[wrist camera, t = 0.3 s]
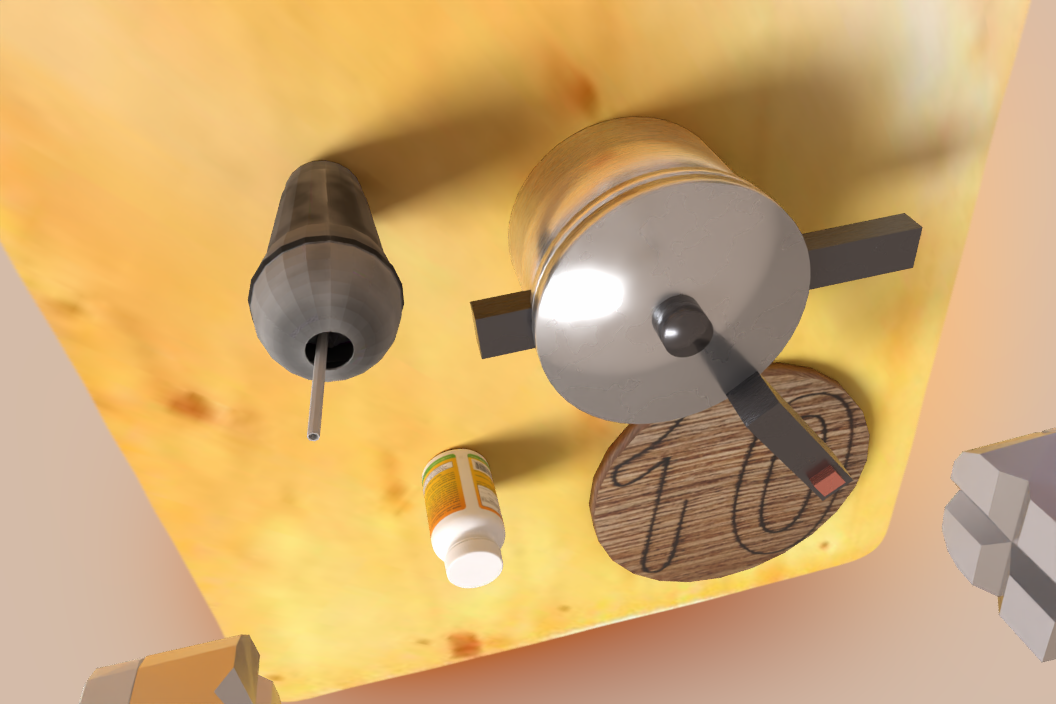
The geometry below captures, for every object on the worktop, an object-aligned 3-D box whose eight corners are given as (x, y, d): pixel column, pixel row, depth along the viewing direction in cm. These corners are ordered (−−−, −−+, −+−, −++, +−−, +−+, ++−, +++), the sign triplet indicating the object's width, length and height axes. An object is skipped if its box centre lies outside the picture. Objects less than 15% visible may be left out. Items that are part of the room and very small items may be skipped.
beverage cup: (411, 189, 49) (460, 402, 33) (335, 271, 51) (347, 506, 35) (311, 111, 45) (313, 312, 29) (233, 203, 47) (196, 436, 31)
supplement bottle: (417, 496, 65) (432, 597, 57) (425, 446, 61) (441, 546, 54) (483, 495, 66) (506, 593, 58) (494, 446, 63) (519, 543, 55)
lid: (709, 110, 40) (750, 149, 36) (906, 377, 54) (950, 424, 51) (472, 315, 44) (487, 370, 40) (715, 511, 59) (743, 564, 55)
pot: (435, 145, 47) (457, 216, 40) (859, 67, 50) (948, 121, 43) (473, 354, 57) (496, 441, 50) (825, 280, 60) (894, 352, 53)
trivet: (589, 589, 78) (594, 605, 76) (585, 391, 62) (592, 407, 61) (831, 535, 81) (841, 550, 79) (884, 335, 65) (897, 349, 64)
